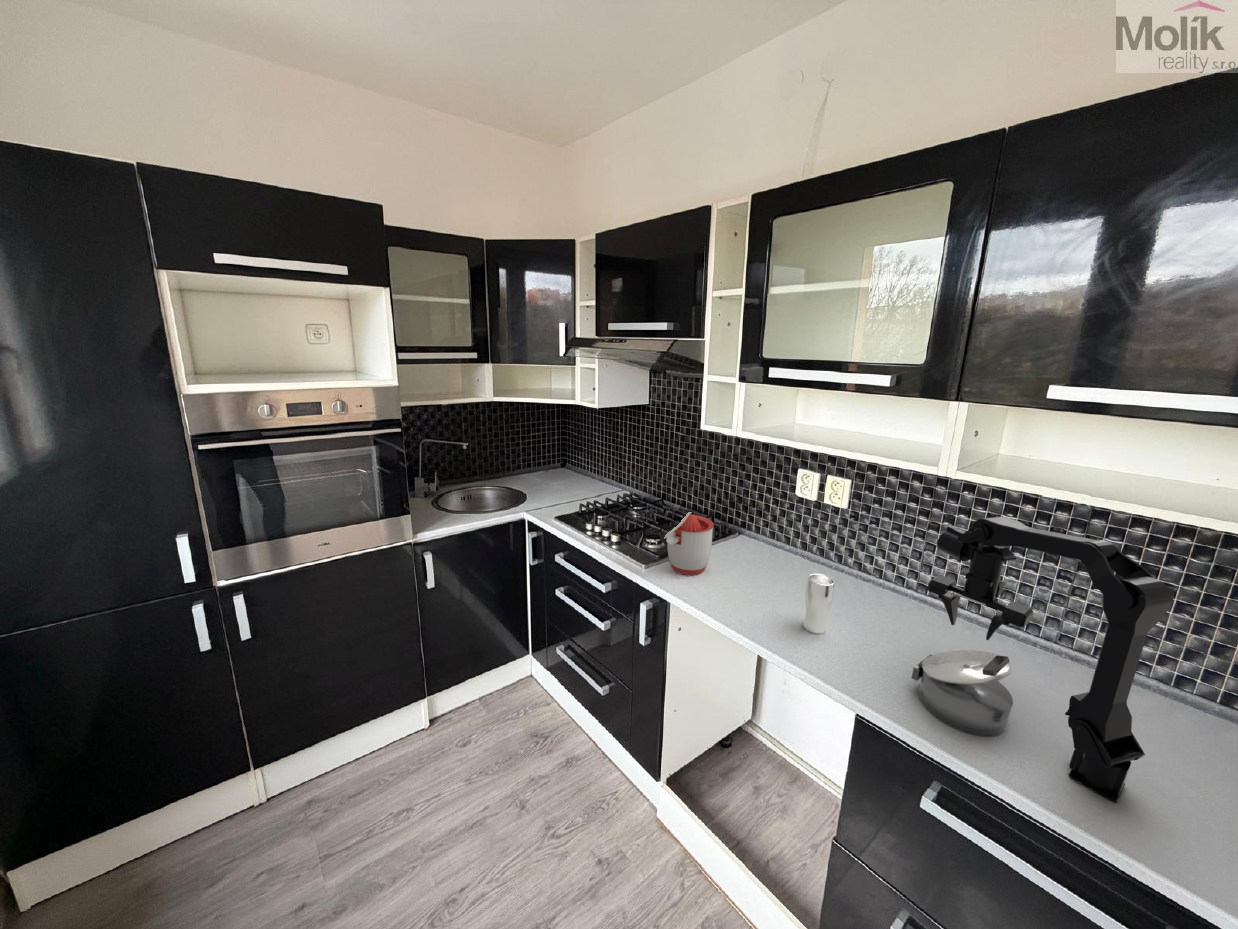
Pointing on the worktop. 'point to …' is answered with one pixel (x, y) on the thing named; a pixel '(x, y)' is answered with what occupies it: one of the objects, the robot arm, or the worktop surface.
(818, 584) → the beer glass
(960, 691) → the pot
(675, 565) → the citrus juicer
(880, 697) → the worktop surface
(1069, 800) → the worktop surface
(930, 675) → the lid
